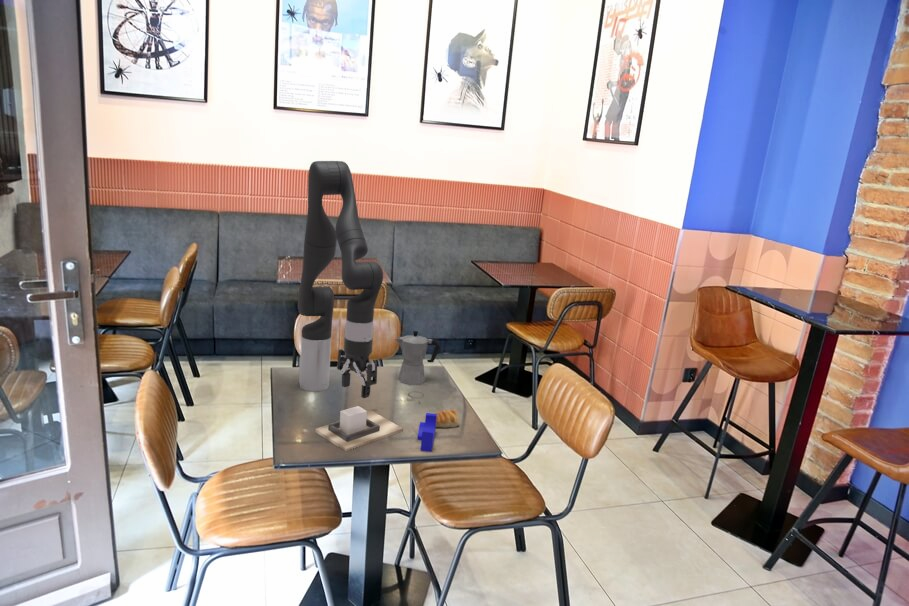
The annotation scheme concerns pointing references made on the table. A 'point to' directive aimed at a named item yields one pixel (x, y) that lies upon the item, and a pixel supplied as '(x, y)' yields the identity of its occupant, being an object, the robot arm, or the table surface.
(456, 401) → the table surface
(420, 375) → the coffeepot
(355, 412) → the keyed plug
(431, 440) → the cable clip
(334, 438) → the board
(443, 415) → the pastry
